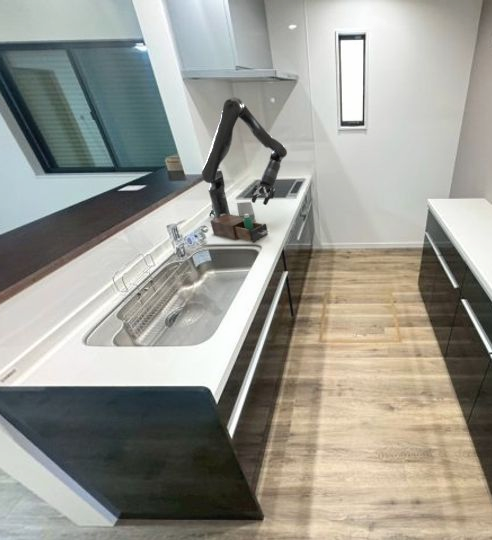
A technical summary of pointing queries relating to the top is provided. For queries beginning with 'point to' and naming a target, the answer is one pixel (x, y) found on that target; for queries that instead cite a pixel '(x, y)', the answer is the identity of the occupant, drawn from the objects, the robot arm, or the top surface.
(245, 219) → the soap bottle
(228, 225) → the cabinet
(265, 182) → the robot arm
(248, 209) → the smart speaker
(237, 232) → the drawer
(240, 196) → the top surface
